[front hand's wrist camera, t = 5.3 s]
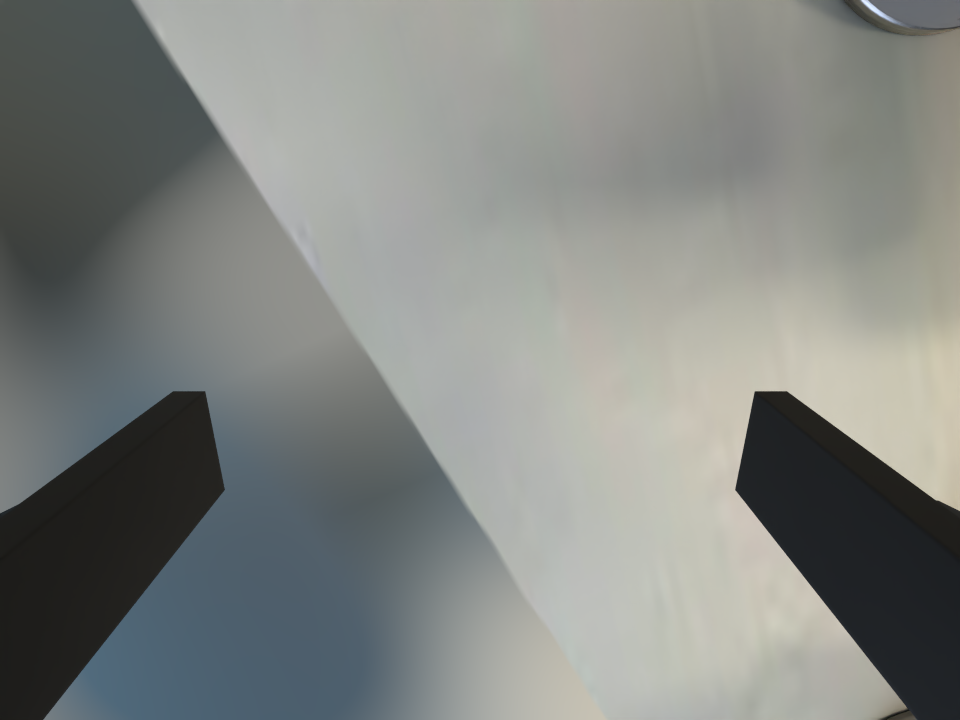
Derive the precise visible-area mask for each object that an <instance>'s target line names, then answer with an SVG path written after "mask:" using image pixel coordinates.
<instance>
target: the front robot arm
mask: <svg viewBox="0 0 960 720" xmlns="http://www.w3.org/2000/svg"><path fill="white" fill-rule="evenodd" d="M844 1H845V2H846V3H847V5H848V6H849V7H850V8H851V9H852V10H853V11H854V12H855V13H857V14H858V15H859V16H860V17H862V18H863V19H864V20H866V21H867V22H869V23H871V24H873V25H875V26H877V27H879V28H881V29H884V30H887V31H890V32H894V33H898V34H905V35H930V34H938V33H942V32H947V31H951V30H954V29H958V28H960V0H844ZM224 490H225V489H224V484H223V479H222V474H221V469H220V464H219V459H218V454H217V449H216V444H215V438H214V434H213V428H212V423H211V418H210V413H209V408H208V403H207V398H206V393H205V391H173V392H172V393H170V394H169V395H168V396H166V397H165V398H163V399H162V400H161V401H159V402H158V403H157V404H155V405H154V406H153V407H151V408H150V409H149V410H147V411H146V412H144V413H143V414H142V415H140V416H139V417H138V418H136V419H135V420H133V421H132V422H131V423H129V424H128V425H127V426H125V427H124V428H123V429H121V430H120V431H118V432H117V433H116V434H114V435H113V436H112V437H110V438H109V439H108V440H106V441H105V442H103V443H102V444H101V445H99V446H98V447H97V448H95V449H94V450H92V451H91V452H90V453H88V454H87V455H86V456H84V457H83V458H82V459H80V460H79V461H77V462H76V463H75V464H73V465H72V466H71V467H69V468H68V469H67V470H65V471H64V472H63V473H61V474H60V475H58V476H57V477H56V478H54V479H53V480H52V481H50V482H49V483H47V484H46V485H45V486H43V487H42V488H41V489H39V490H38V491H37V492H35V493H34V494H32V495H31V496H30V497H28V498H27V499H26V500H24V501H23V502H21V503H20V504H18V505H16V506H14V507H12V508H10V509H8V510H6V511H4V512H2V513H0V720H43V719H44V718H45V717H46V715H47V714H48V713H49V712H50V710H51V709H52V708H53V707H54V705H55V704H56V703H57V701H58V700H59V699H60V698H61V696H62V695H63V694H64V693H65V691H66V690H67V689H68V687H69V686H70V685H71V684H72V682H73V681H74V680H75V679H76V677H77V676H78V675H79V674H80V672H81V671H82V670H83V669H84V667H85V666H86V665H87V663H88V662H89V661H90V660H91V658H92V657H93V656H94V655H95V653H96V652H97V651H98V650H99V648H100V647H101V646H102V644H103V643H104V642H105V641H106V639H107V638H108V637H109V636H110V634H111V633H112V632H113V631H114V629H115V628H116V627H117V626H118V624H119V623H120V622H121V620H122V619H123V618H124V617H125V615H126V614H127V613H128V612H129V610H130V609H131V608H132V606H133V605H134V604H135V603H136V601H137V600H138V599H139V598H140V596H141V595H142V594H143V593H144V591H145V590H146V589H147V588H148V586H149V585H150V584H151V582H152V581H153V580H154V579H155V577H156V576H157V575H158V574H159V572H160V571H161V570H162V569H163V567H164V566H165V565H166V563H167V562H168V561H169V560H170V558H171V557H172V556H173V555H174V553H175V552H176V551H177V550H178V548H179V547H180V546H181V544H182V543H183V542H184V541H185V539H186V538H187V537H188V536H189V534H190V533H191V532H192V531H193V529H194V528H195V527H196V525H197V524H198V523H199V522H200V520H201V519H202V518H203V517H204V515H205V514H206V513H207V512H208V510H209V509H210V508H211V506H212V505H213V504H214V503H215V501H216V500H217V499H218V498H219V496H220V495H221V494H222V493H223V491H224ZM735 490H736V491H737V493H738V494H739V495H740V496H741V498H742V499H743V500H744V501H745V503H746V504H747V505H748V507H749V508H750V509H751V510H752V512H753V513H754V514H755V515H756V517H757V518H758V519H759V520H760V522H761V523H762V524H763V526H764V527H765V528H766V529H767V531H768V532H769V533H770V534H771V536H772V537H773V538H774V539H775V541H776V542H777V543H778V545H779V546H780V547H781V548H782V550H783V551H784V552H785V553H786V555H787V556H788V557H789V558H790V560H791V561H792V562H793V563H794V565H795V566H796V567H797V569H798V570H799V571H800V572H801V574H802V575H803V576H804V577H805V579H806V580H807V581H808V582H809V584H810V585H811V586H812V588H813V589H814V590H815V591H816V593H817V594H818V595H819V596H820V598H821V599H822V600H823V601H824V603H825V604H826V605H827V607H828V608H829V609H830V610H831V612H832V613H833V614H834V615H835V617H836V618H837V619H838V620H839V622H840V623H841V624H842V626H843V627H844V628H845V629H846V631H847V632H848V633H849V634H850V636H851V637H852V638H853V639H854V641H855V642H856V643H857V644H858V646H859V647H860V648H861V650H862V651H863V652H864V653H865V655H866V656H867V657H868V658H869V660H870V661H871V662H872V663H873V665H874V666H875V667H876V669H877V670H878V671H879V672H880V674H881V675H882V676H883V677H884V679H885V680H886V681H887V682H888V684H889V685H890V686H891V688H892V689H893V690H894V691H895V693H896V694H897V695H898V696H899V698H900V699H901V700H902V701H903V703H904V704H905V705H906V707H907V708H908V709H909V710H910V712H911V713H912V714H913V715H914V717H915V718H916V719H917V720H960V511H958V510H956V509H954V508H952V507H950V506H948V505H946V504H944V503H942V502H940V501H936V500H934V499H933V498H932V497H930V496H929V495H928V494H926V493H925V492H924V491H922V490H921V489H919V488H918V487H917V486H915V485H914V484H913V483H911V482H910V481H908V480H907V479H906V478H904V477H903V476H902V475H900V474H899V473H898V472H896V471H895V470H893V469H892V468H891V467H889V466H888V465H887V464H885V463H884V462H883V461H881V460H880V459H878V458H877V457H876V456H874V455H873V454H872V453H870V452H869V451H868V450H866V449H865V448H863V447H862V446H861V445H859V444H858V443H857V442H855V441H854V440H853V439H851V438H850V437H848V436H847V435H846V434H844V433H843V432H842V431H840V430H839V429H837V428H836V427H835V426H833V425H832V424H831V423H829V422H828V421H827V420H825V419H824V418H822V417H821V416H820V415H818V414H817V413H816V412H814V411H813V410H812V409H810V408H809V407H807V406H806V405H805V404H803V403H802V402H801V401H799V400H798V399H797V398H795V397H794V396H792V395H791V394H790V393H788V392H787V391H755V393H754V398H753V403H752V408H751V413H750V418H749V423H748V428H747V433H746V438H745V443H744V449H743V454H742V459H741V464H740V469H739V474H738V479H737V484H736V489H735Z"/></svg>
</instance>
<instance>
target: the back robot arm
mask: <svg viewBox="0 0 960 720" xmlns="http://www.w3.org/2000/svg"><path fill="white" fill-rule="evenodd" d="M887 720H917V719H916V718H915V717H914V715H913V714H912V713H911V712H910V711H908V712H904V713H901V714H898V715H896V716H893V717H891V718H889V719H887Z"/></svg>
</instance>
